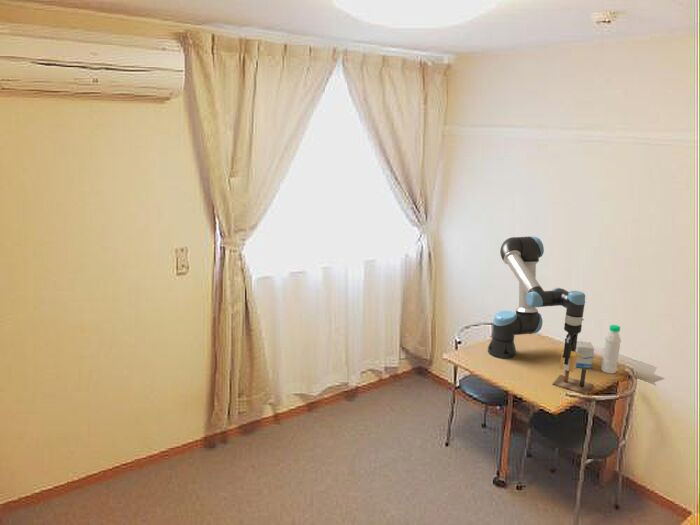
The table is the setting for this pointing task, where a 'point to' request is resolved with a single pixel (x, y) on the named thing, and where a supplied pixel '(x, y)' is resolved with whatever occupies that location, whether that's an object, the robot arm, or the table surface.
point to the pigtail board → (574, 383)
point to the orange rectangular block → (572, 361)
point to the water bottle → (611, 350)
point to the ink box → (584, 354)
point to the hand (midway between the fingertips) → (567, 367)
